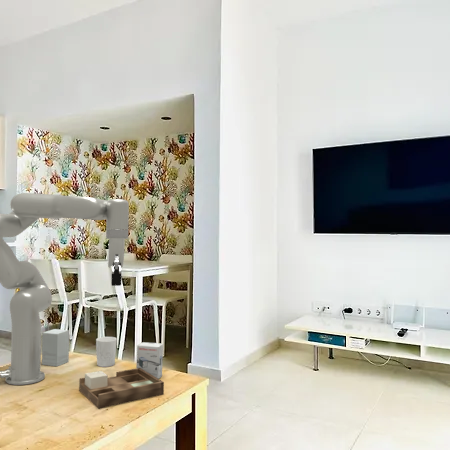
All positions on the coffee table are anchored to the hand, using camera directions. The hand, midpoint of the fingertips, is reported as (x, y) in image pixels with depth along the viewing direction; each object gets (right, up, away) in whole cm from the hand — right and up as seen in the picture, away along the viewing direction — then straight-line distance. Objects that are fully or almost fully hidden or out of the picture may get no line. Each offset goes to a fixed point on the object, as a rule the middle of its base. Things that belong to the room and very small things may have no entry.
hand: (116, 283), depth 157 cm
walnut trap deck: (+4, -34, -10) cm, 36 cm away
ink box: (+10, -35, +6) cm, 37 cm away
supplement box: (-29, -34, +21) cm, 49 cm away
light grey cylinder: (-9, -35, +20) cm, 41 cm away
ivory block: (-4, -32, -11) cm, 34 cm away
